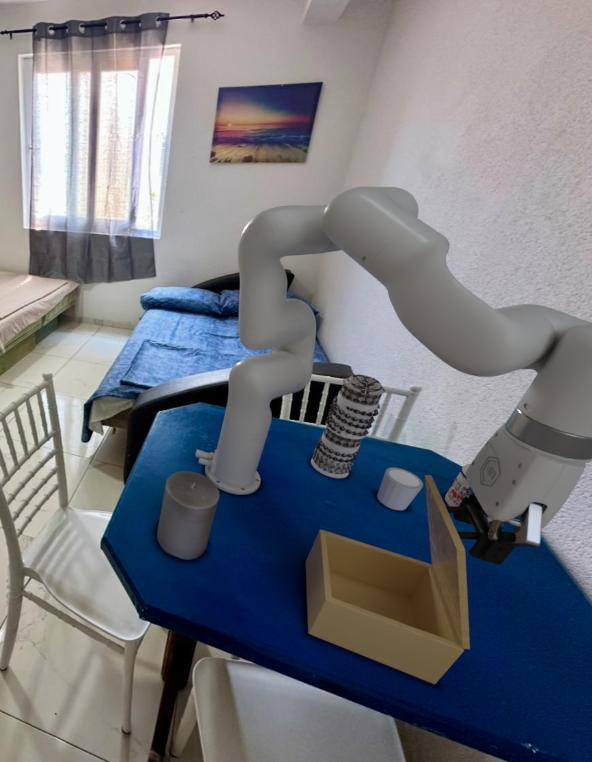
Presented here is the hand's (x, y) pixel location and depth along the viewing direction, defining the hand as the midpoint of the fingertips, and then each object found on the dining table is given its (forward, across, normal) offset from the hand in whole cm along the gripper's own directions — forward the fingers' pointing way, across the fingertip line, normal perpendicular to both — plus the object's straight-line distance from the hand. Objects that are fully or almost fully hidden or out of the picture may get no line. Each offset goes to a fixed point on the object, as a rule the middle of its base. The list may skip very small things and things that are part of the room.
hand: (475, 538), depth 55 cm
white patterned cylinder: (+22, -41, -9) cm, 47 cm away
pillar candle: (+22, -2, -37) cm, 44 cm away
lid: (+5, 0, -2) cm, 5 cm away
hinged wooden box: (+22, 0, -6) cm, 23 cm away
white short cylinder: (+22, -34, +3) cm, 41 cm away
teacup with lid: (+22, -38, +19) cm, 48 cm away
